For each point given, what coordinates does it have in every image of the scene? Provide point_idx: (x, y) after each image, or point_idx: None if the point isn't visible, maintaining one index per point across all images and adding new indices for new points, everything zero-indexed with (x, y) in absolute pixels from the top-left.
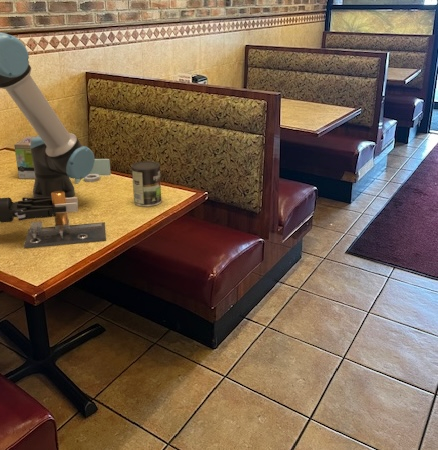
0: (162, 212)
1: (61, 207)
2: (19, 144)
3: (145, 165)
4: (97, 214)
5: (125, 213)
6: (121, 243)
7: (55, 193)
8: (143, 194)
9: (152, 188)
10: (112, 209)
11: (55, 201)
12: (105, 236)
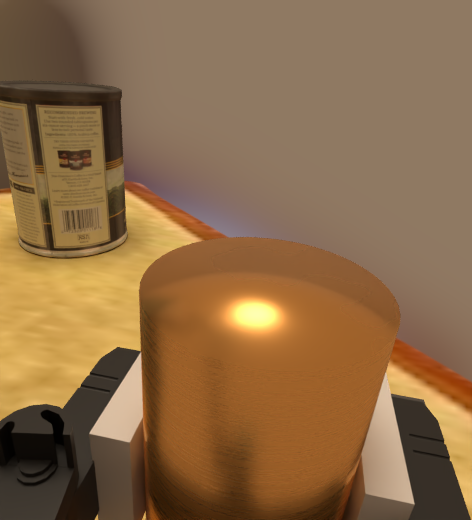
0: (195, 238)
1: (427, 444)
2: None
3: (56, 87)
4: (38, 370)
5: (127, 293)
6: (451, 370)
7: (283, 311)
8: (107, 202)
9: (123, 172)
10: (39, 312)
11: (360, 444)
12: (406, 397)
